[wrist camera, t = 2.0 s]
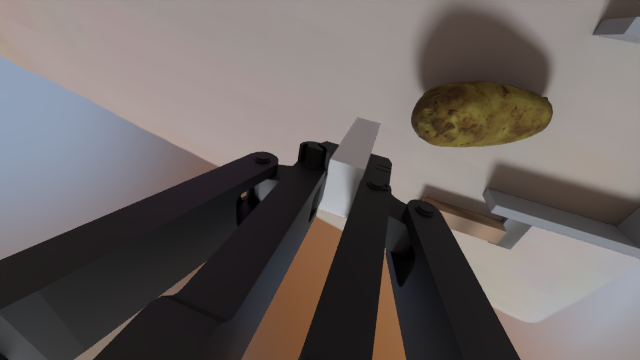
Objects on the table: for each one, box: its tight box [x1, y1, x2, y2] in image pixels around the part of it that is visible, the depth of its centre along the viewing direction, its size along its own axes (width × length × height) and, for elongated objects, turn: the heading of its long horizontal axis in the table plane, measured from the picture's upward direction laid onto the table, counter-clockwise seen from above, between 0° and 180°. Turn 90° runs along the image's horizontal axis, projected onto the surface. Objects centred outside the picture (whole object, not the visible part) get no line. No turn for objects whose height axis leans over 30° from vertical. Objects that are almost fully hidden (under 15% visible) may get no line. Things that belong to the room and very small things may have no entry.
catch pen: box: [483, 17, 640, 259], centre depth 25 cm, size 20×16×4 cm
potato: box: [411, 81, 553, 147], centre depth 25 cm, size 8×13×8 cm, turn 70°
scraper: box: [422, 197, 532, 249], centre depth 35 cm, size 14×5×2 cm, turn 80°
